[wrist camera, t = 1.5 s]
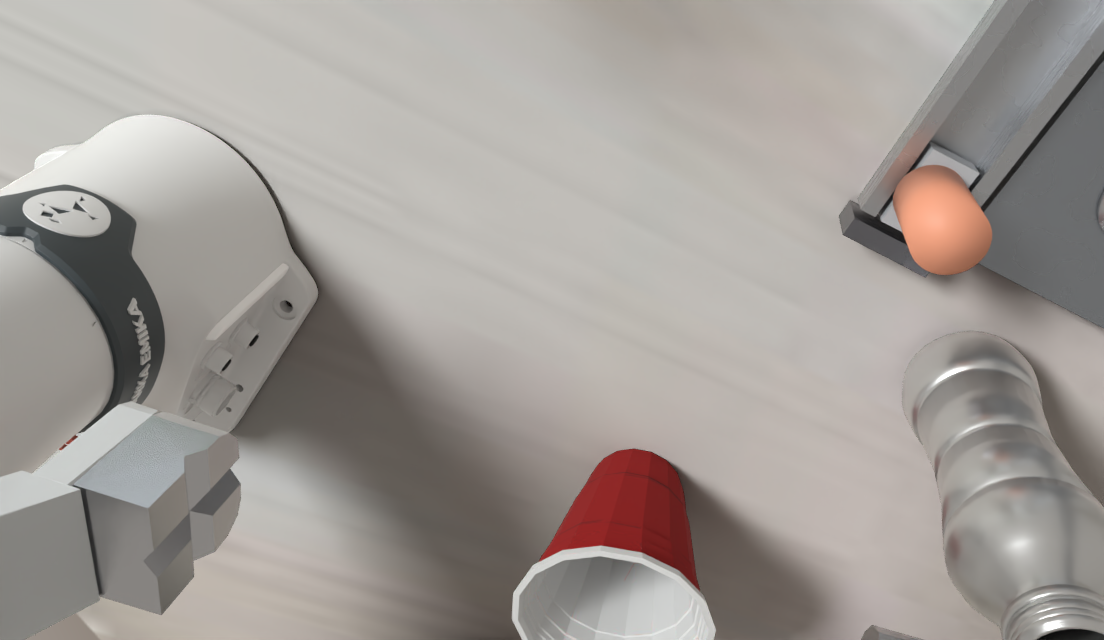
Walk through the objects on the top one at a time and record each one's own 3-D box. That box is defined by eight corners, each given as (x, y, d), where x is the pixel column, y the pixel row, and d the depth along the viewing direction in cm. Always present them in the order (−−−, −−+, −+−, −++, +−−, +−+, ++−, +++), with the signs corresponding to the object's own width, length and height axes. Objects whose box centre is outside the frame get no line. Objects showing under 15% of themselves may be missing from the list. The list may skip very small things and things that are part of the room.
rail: (917, 256, 44) (925, 277, 42) (838, 216, 44) (842, 234, 42) (1205, -119, 35) (1235, -118, 33) (1106, -172, 35) (1129, -175, 33)
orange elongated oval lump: (927, 236, 43) (953, 294, 37) (870, 206, 43) (887, 260, 37) (980, 167, 41) (1016, 217, 35) (920, 136, 40) (946, 181, 35)
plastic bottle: (880, 409, 49) (944, 706, 32) (916, 304, 46) (1008, 572, 28) (999, 432, 48) (1130, 751, 31) (1044, 327, 45) (1219, 618, 28)
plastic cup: (604, 568, 59) (570, 717, 49) (526, 446, 56) (472, 580, 45) (752, 528, 55) (750, 682, 44) (678, 394, 51) (656, 527, 41)
